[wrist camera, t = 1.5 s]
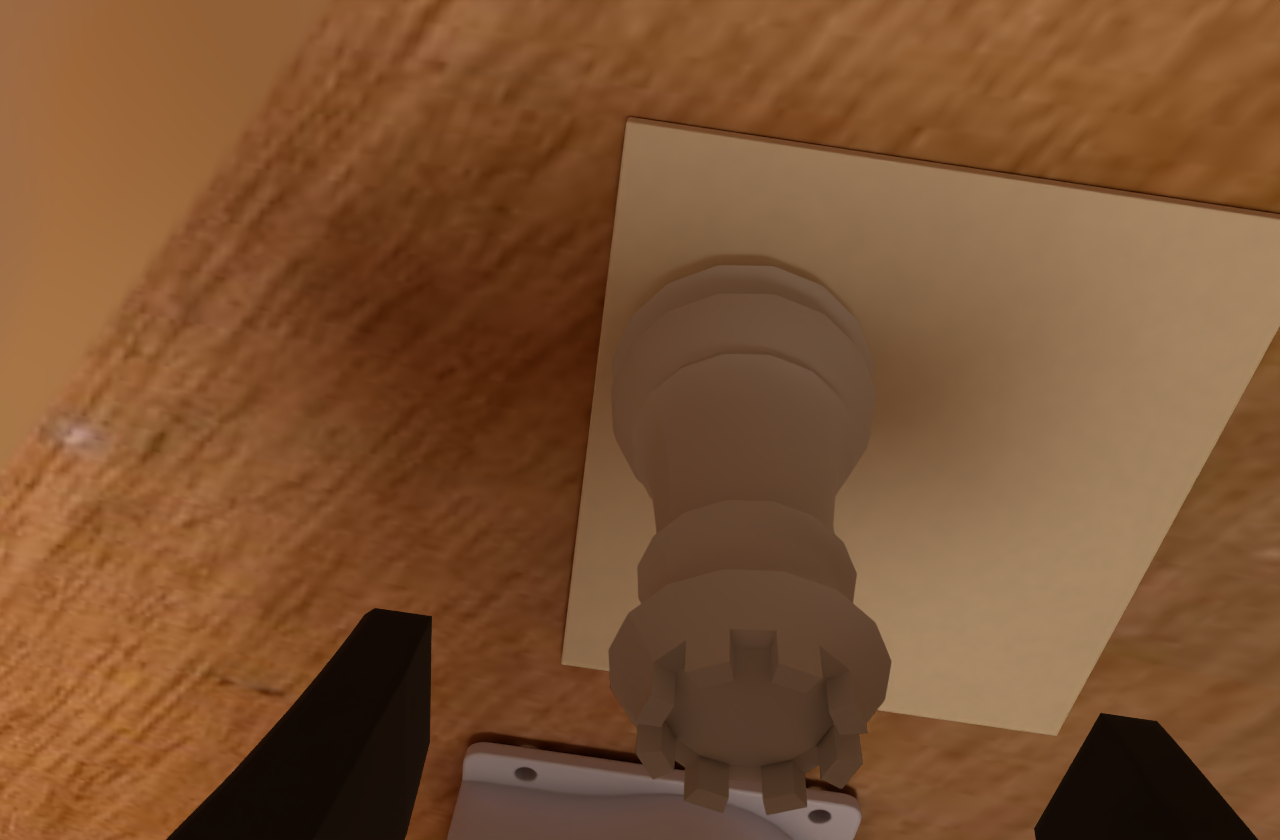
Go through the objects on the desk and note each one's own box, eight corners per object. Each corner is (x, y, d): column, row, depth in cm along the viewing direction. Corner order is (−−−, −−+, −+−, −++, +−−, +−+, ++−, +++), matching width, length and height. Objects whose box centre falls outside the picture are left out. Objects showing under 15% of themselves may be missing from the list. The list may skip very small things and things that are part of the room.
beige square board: (562, 654, 22) (560, 664, 22) (627, 115, 16) (626, 122, 15) (1052, 725, 22) (1056, 736, 22) (1324, 220, 16) (1334, 227, 15)
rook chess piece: (566, 395, 18) (472, 766, 11) (707, 199, 16) (695, 516, 9) (766, 510, 19) (788, 910, 12) (926, 341, 17) (1055, 717, 10)
